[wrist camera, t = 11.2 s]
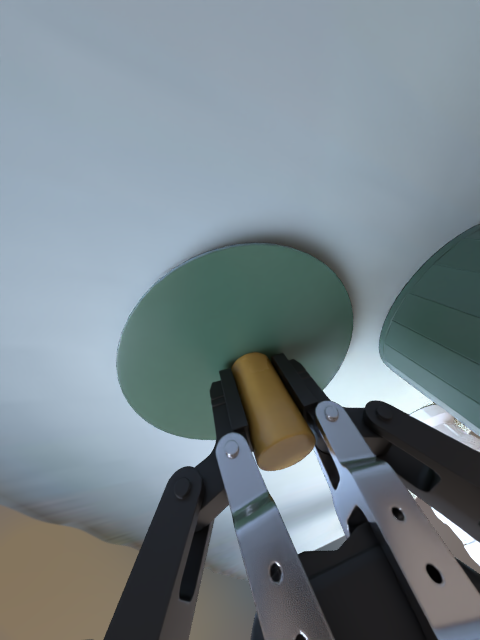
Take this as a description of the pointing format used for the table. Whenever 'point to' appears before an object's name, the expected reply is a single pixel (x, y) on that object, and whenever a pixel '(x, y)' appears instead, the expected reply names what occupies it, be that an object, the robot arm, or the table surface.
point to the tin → (441, 330)
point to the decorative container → (446, 425)
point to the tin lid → (235, 343)
